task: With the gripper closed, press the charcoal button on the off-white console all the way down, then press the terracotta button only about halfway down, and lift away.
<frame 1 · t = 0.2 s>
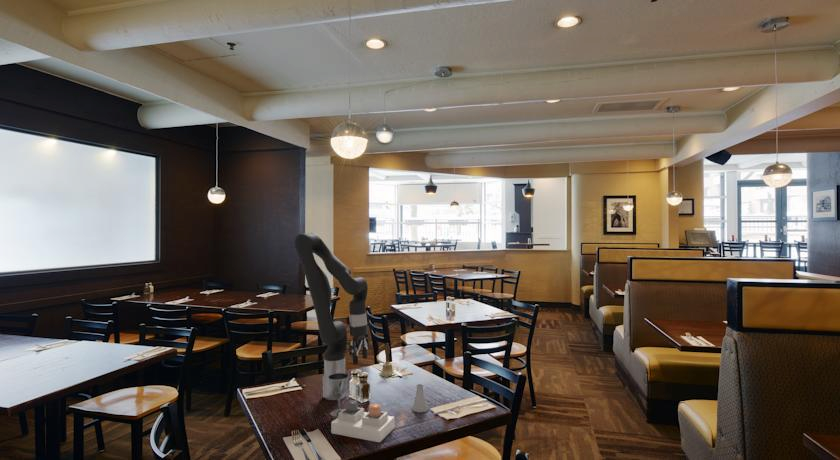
hand: (360, 361, 186), 17 cm above the table, tool pointing down, fingers open, 8 cm apart
charcoal button: (351, 406, 161), point 8 cm above the table, slide at 0.0 cm
flask: (420, 410, 176), on the table
console: (363, 430, 159), on the table
hand bell: (387, 374, 220), on the table
terracotta button: (374, 410, 157), point 8 cm above the table, slide at 0.0 cm
wine glass: (339, 413, 175), on the table
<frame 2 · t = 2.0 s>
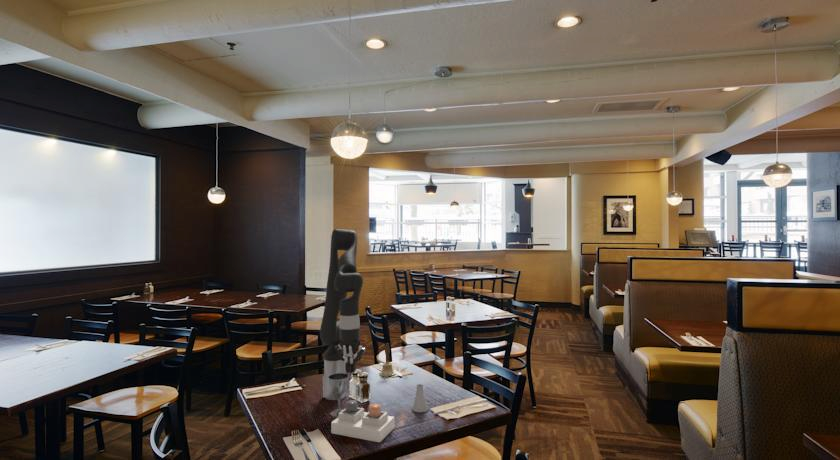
hand: (350, 372, 161), 21 cm above the table, tool pointing down, fingers closed
nothing on the table moved.
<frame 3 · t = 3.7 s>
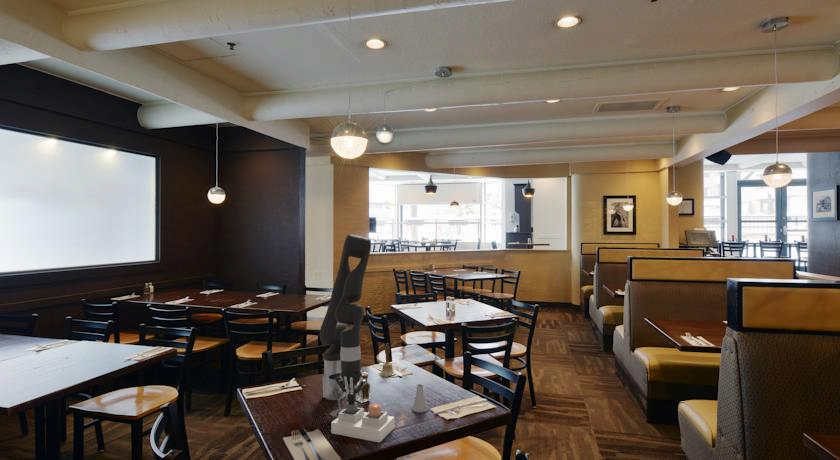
hand: (351, 403, 161), 9 cm above the table, tool pointing down, fingers closed
charcoal button: (351, 407, 161), point 8 cm above the table, slide at 0.4 cm, touching gripper
everything else where it was.
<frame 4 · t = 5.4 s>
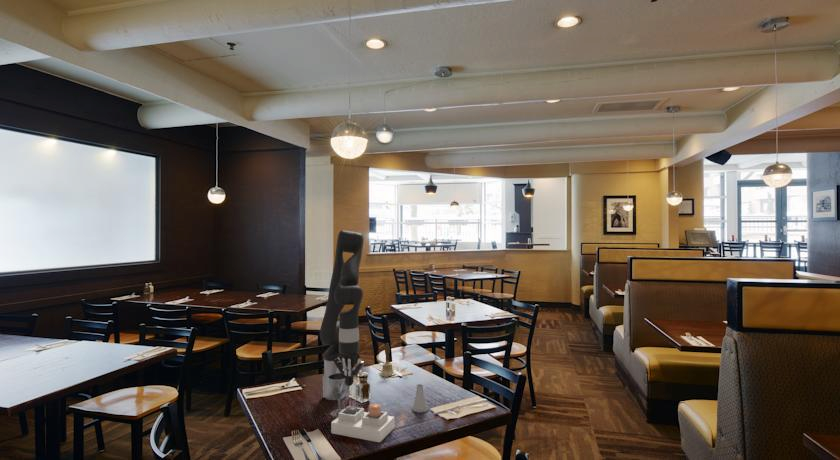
hand: (349, 385, 161), 16 cm above the table, tool pointing down, fingers closed
charcoal button: (351, 412, 161), point 6 cm above the table, slide at 2.3 cm
everything else where it was.
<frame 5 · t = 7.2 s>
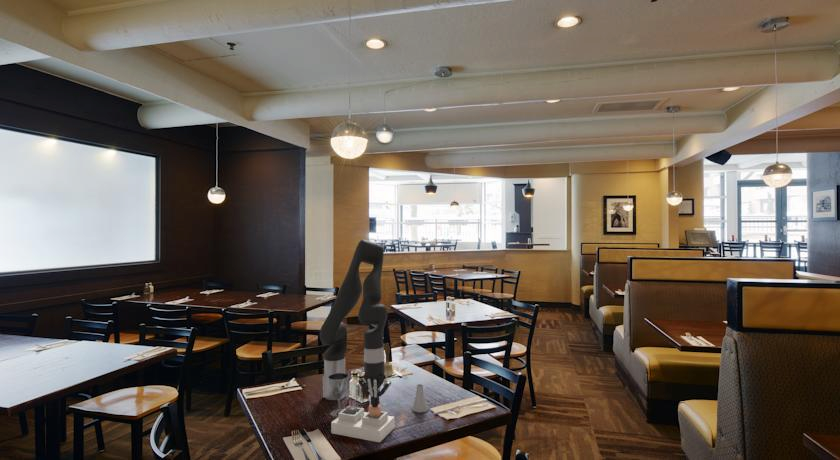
hand: (375, 406, 157), 10 cm above the table, tool pointing down, fingers closed
terracotta button: (374, 410, 157), point 8 cm above the table, slide at 0.1 cm, touching gripper
everything else where it was.
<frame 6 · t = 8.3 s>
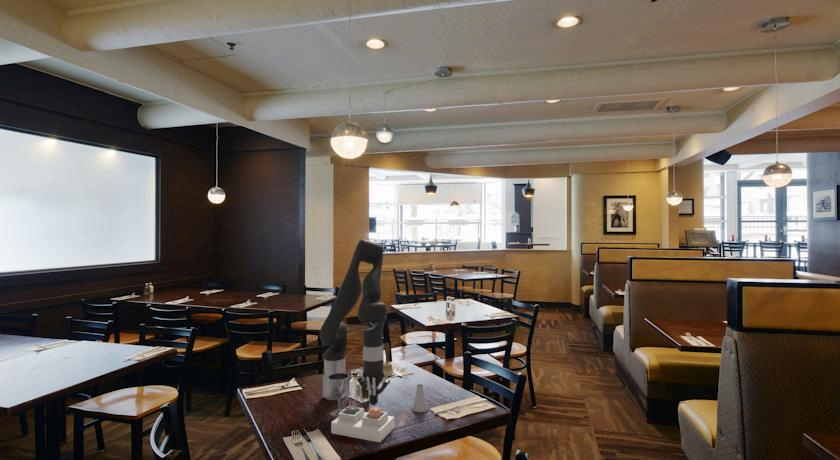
hand: (373, 404, 157), 10 cm above the table, tool pointing down, fingers closed
terracotta button: (375, 413, 157), point 7 cm above the table, slide at 1.2 cm
everything else where it was.
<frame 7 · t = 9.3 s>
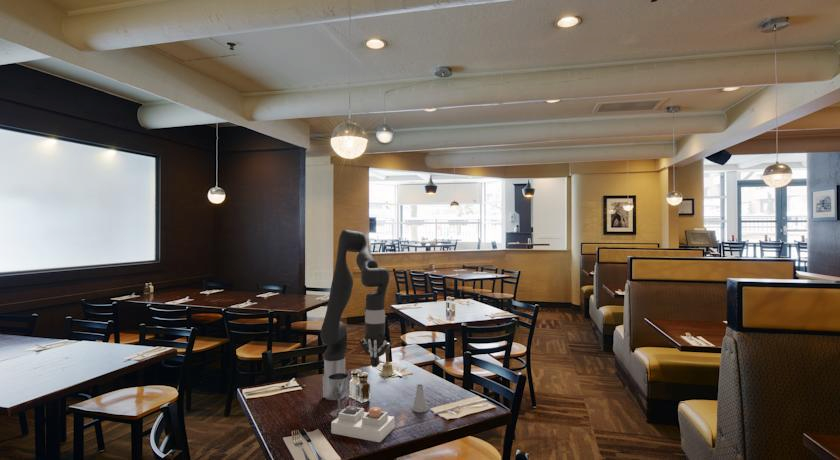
hand: (374, 366, 162), 23 cm above the table, tool pointing down, fingers closed
nothing on the table moved.
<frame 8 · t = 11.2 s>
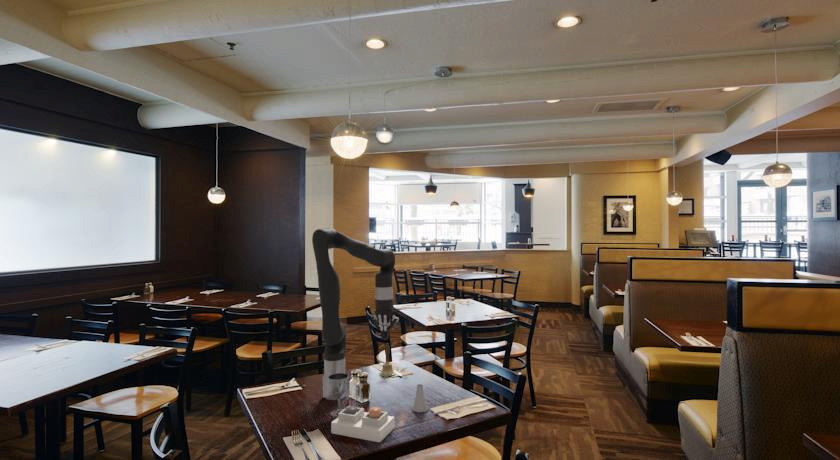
hand: (385, 339, 176), 29 cm above the table, tool pointing down, fingers closed
nothing on the table moved.
at the end: charcoal button slide at 2.3 cm; terracotta button slide at 1.2 cm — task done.
